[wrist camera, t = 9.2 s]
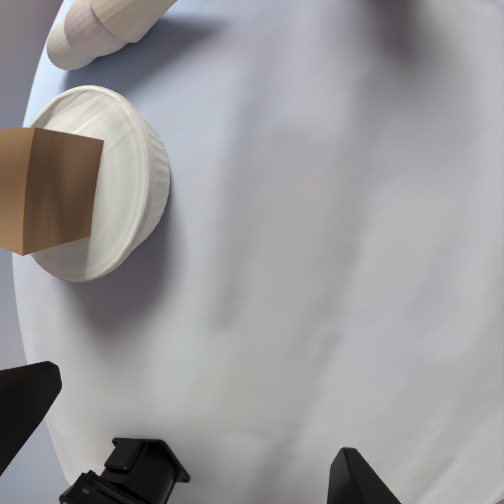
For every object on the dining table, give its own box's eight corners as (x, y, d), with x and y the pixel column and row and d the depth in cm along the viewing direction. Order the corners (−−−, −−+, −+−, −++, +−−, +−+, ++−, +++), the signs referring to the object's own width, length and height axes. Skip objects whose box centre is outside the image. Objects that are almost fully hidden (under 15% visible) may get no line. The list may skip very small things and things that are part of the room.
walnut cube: (90, 236, 14) (22, 255, 9) (32, 219, 15) (-30, 232, 10) (103, 140, 13) (35, 127, 8) (42, 137, 14) (-22, 130, 9)
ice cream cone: (257, -13, 15) (93, 72, 20) (222, -76, 10) (60, 23, 15) (252, -13, 11) (54, 102, 16) (205, -94, 7) (14, 44, 11)
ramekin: (101, 83, 18) (57, 62, 13) (219, 151, 18) (192, 137, 13) (41, 209, 20) (-6, 216, 15) (136, 292, 20) (95, 320, 15)
